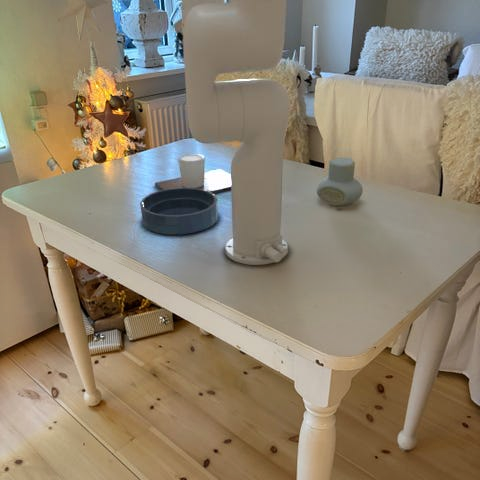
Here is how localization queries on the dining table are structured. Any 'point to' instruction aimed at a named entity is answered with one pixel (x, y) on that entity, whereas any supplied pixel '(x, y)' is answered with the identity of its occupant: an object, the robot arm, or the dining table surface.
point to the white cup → (192, 170)
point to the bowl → (179, 210)
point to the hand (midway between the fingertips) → (206, 64)
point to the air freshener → (340, 184)
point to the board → (212, 182)
